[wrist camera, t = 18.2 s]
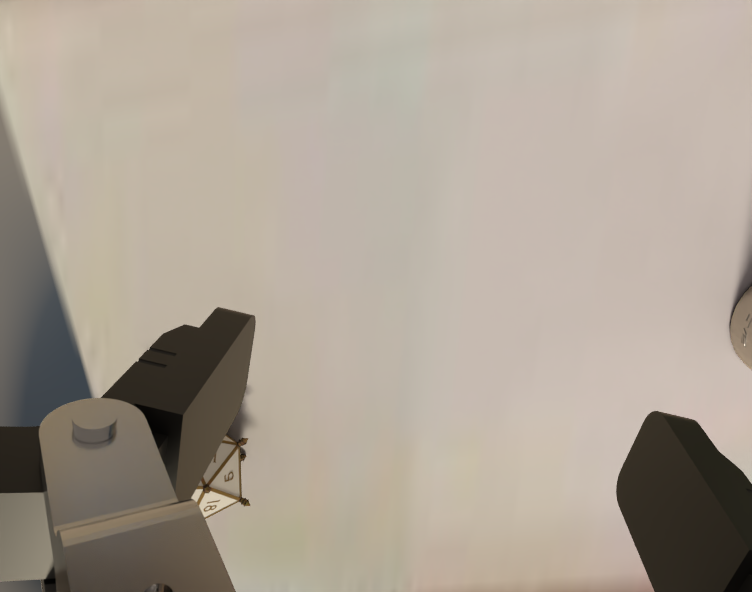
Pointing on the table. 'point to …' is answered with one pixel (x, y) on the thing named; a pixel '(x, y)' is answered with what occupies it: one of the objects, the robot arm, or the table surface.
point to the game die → (222, 479)
